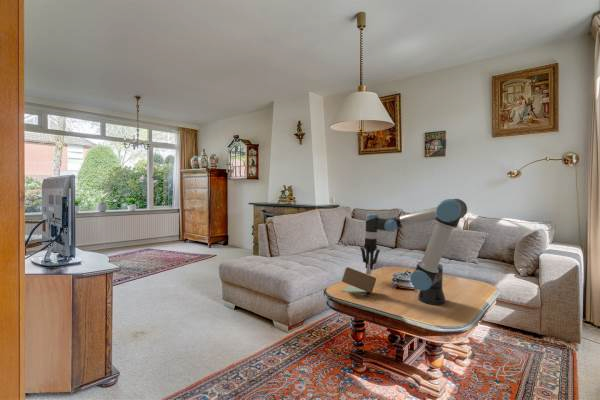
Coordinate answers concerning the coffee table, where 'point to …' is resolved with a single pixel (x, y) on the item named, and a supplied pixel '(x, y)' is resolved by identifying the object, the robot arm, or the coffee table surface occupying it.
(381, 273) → the coffee table surface
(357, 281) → the block
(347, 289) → the mat
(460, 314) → the coffee table surface
